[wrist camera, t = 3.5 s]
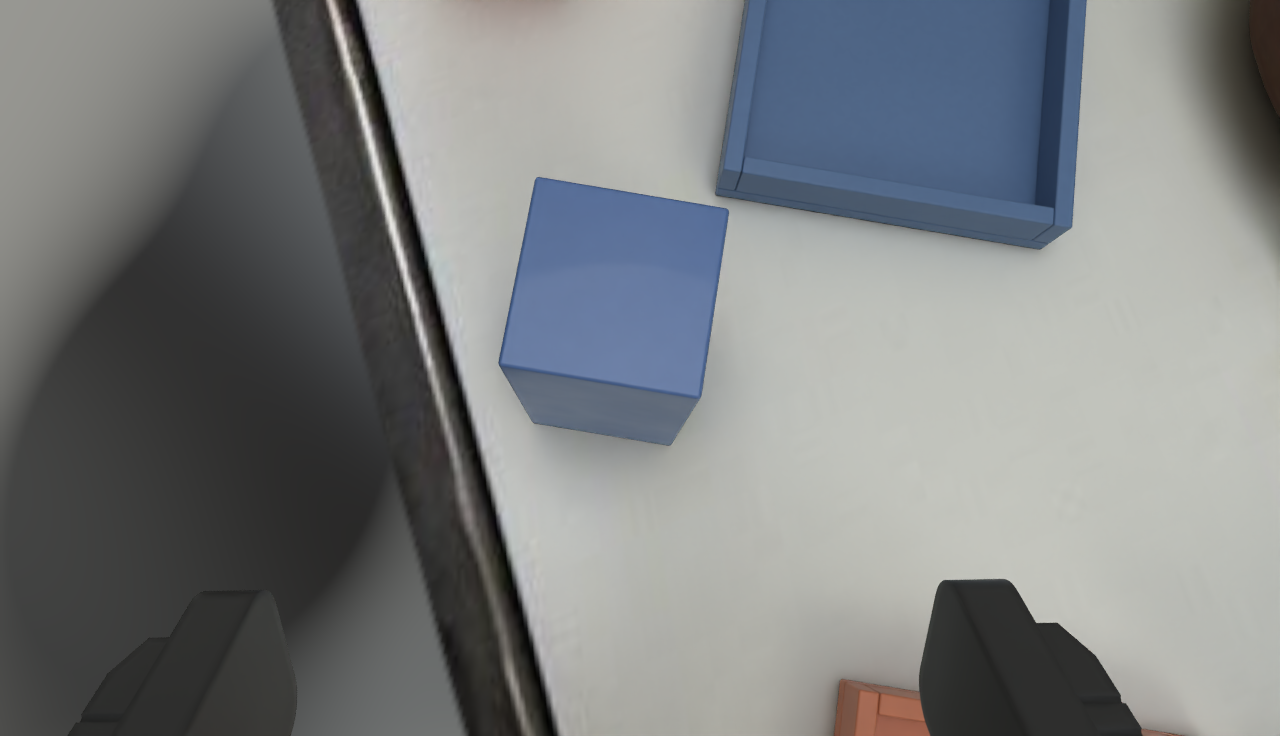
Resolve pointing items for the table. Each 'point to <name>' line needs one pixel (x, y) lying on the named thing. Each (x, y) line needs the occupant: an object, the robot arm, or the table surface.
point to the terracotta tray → (888, 712)
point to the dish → (1267, 45)
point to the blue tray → (910, 113)
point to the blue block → (613, 310)
